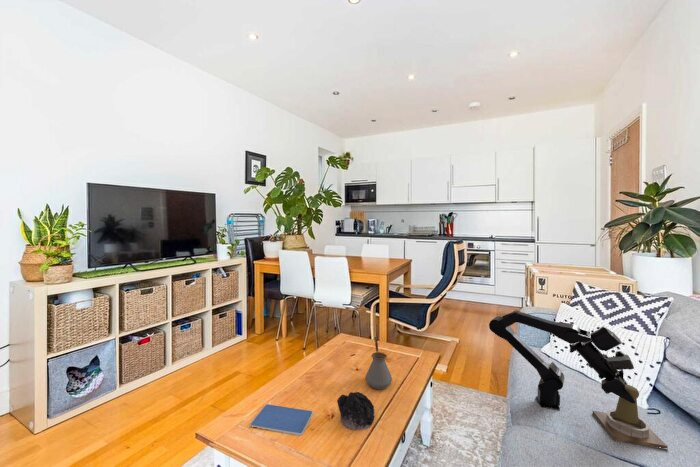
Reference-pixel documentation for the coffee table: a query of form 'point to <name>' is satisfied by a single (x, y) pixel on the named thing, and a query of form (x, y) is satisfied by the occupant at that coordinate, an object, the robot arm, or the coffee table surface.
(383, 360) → the coffee pot
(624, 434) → the spacer seat
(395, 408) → the coffee table surface
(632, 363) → the robot arm
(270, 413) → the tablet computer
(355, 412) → the black rough lump
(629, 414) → the cork
